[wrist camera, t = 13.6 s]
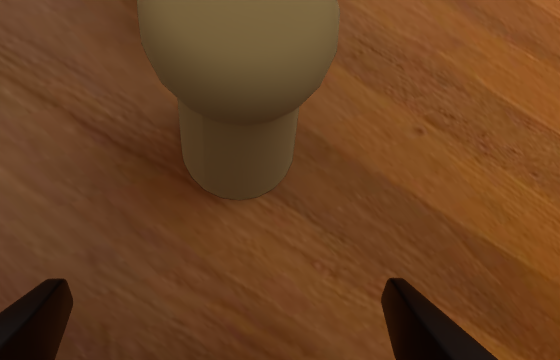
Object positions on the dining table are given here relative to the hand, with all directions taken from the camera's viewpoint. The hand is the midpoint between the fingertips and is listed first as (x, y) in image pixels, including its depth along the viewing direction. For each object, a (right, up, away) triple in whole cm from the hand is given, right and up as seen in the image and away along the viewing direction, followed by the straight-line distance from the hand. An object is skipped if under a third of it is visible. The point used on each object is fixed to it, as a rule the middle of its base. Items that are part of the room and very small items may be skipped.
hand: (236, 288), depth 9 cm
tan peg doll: (-1, +5, +9) cm, 10 cm away
